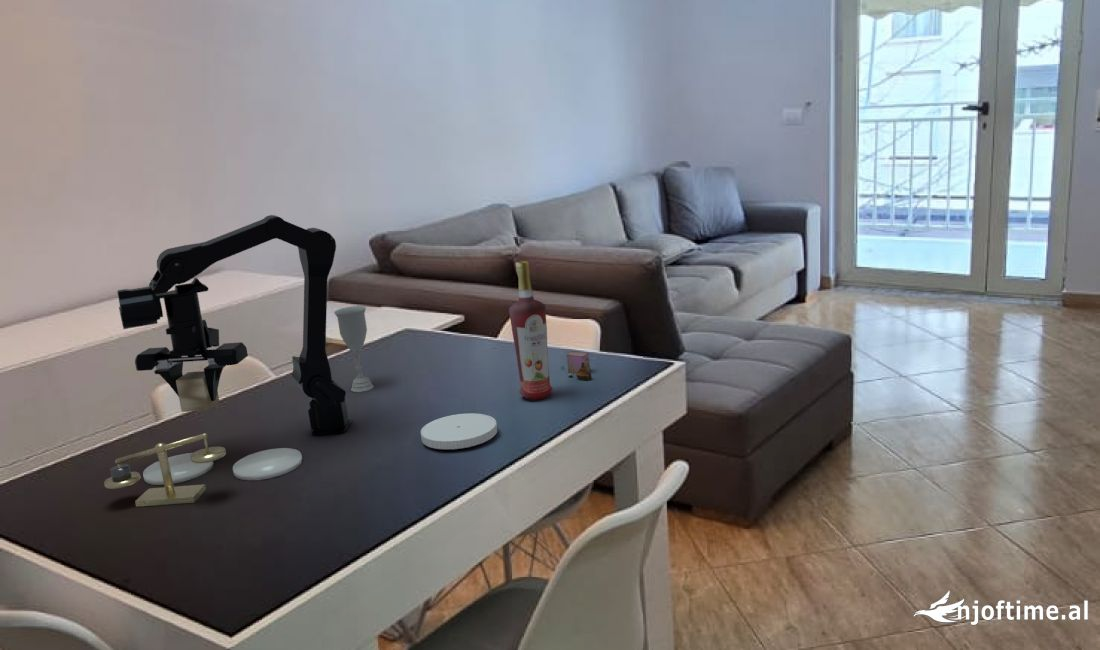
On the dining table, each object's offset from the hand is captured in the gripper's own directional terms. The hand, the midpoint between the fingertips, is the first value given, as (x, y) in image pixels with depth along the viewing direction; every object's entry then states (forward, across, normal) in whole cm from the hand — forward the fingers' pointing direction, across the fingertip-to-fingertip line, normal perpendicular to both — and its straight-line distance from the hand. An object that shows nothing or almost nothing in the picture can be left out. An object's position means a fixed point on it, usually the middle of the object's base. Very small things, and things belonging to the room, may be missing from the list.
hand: (199, 401), depth 170 cm
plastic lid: (+11, -47, -2) cm, 48 cm away
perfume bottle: (+10, -71, -35) cm, 80 cm away
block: (+1, 0, 0) cm, 1 cm away
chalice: (+11, -20, -37) cm, 43 cm away
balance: (+12, 0, +16) cm, 20 cm away
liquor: (+10, -60, -22) cm, 65 cm away
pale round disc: (+12, +4, +4) cm, 13 cm away
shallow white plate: (+11, -13, +5) cm, 18 cm away
